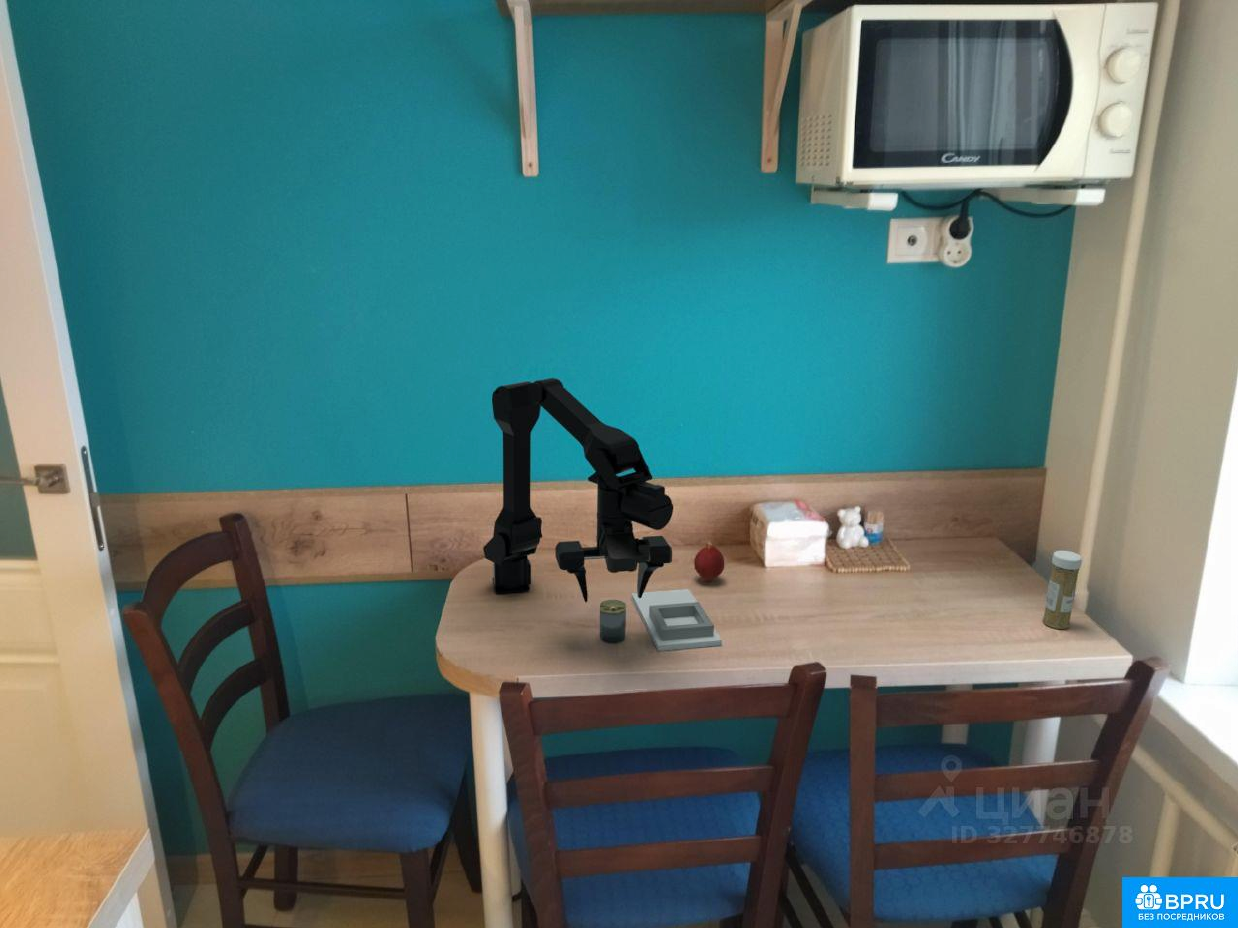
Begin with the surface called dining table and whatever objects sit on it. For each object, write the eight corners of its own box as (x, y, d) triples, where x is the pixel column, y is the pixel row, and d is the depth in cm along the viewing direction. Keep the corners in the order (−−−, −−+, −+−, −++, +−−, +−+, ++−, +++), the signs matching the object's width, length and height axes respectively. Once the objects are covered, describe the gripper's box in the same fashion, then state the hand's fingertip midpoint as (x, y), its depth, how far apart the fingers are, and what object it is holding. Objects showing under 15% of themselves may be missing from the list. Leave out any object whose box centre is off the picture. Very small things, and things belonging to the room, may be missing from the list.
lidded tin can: (602, 644, 155) (602, 612, 153) (597, 632, 159) (597, 600, 157) (627, 642, 156) (628, 610, 154) (622, 630, 160) (623, 598, 158)
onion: (706, 571, 183) (708, 534, 181) (729, 581, 180) (731, 543, 177) (687, 580, 180) (689, 542, 177) (710, 589, 176) (712, 551, 173)
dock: (658, 650, 153) (658, 634, 152) (631, 598, 172) (631, 583, 171) (721, 645, 155) (722, 629, 154) (688, 593, 174) (689, 579, 173)
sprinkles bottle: (1071, 631, 162) (1084, 561, 158) (1043, 627, 163) (1055, 557, 159) (1067, 620, 166) (1080, 551, 162) (1040, 616, 168) (1052, 548, 164)
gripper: (565, 534, 141) (565, 626, 146) (683, 527, 145) (679, 616, 150) (554, 508, 151) (554, 595, 156) (665, 502, 155) (661, 587, 160)
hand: (612, 599), depth 155 cm, fingers open, 9 cm apart
